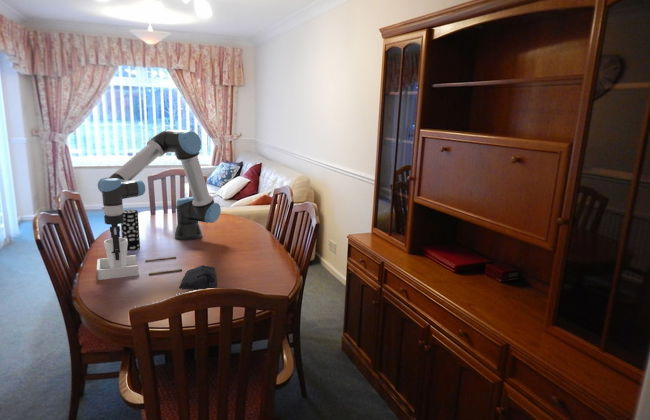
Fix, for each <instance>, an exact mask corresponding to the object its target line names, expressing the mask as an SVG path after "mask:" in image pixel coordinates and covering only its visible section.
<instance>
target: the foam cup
mask: <svg viewBox="0 0 650 420" xmlns="http://www.w3.org/2000/svg"><path fill="white" fill-rule="evenodd" d="M103 245H104V249H105V253H106V258H108V262H109V266H110V268H115V267H114V255H113V253H112V252H113V238H108V239H105V240H104V241H103ZM127 245H128V240H127V239H126V238H122V237H119V247H120V255H121V267H124V266H126V259H127V256H128V255H127V254H128V251H127ZM117 250H118V249H117Z"/></svg>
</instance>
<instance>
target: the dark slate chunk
mask: <svg viewBox="0 0 650 420" xmlns="http://www.w3.org/2000/svg"><path fill="white" fill-rule="evenodd" d="M217 281H218V280H217V274H216V268H215V267H214V266H210V265H204V264H203V265H199V266H196V267H194V268H190V269H188V270H187V271H186V272H185V273H184V276H183V278H182V279H181V281H180V285H179V287H178V288H179V289H182V290H185V291H186V290H205V288H206V289H212V288H217V285H218V282H217Z"/></svg>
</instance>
